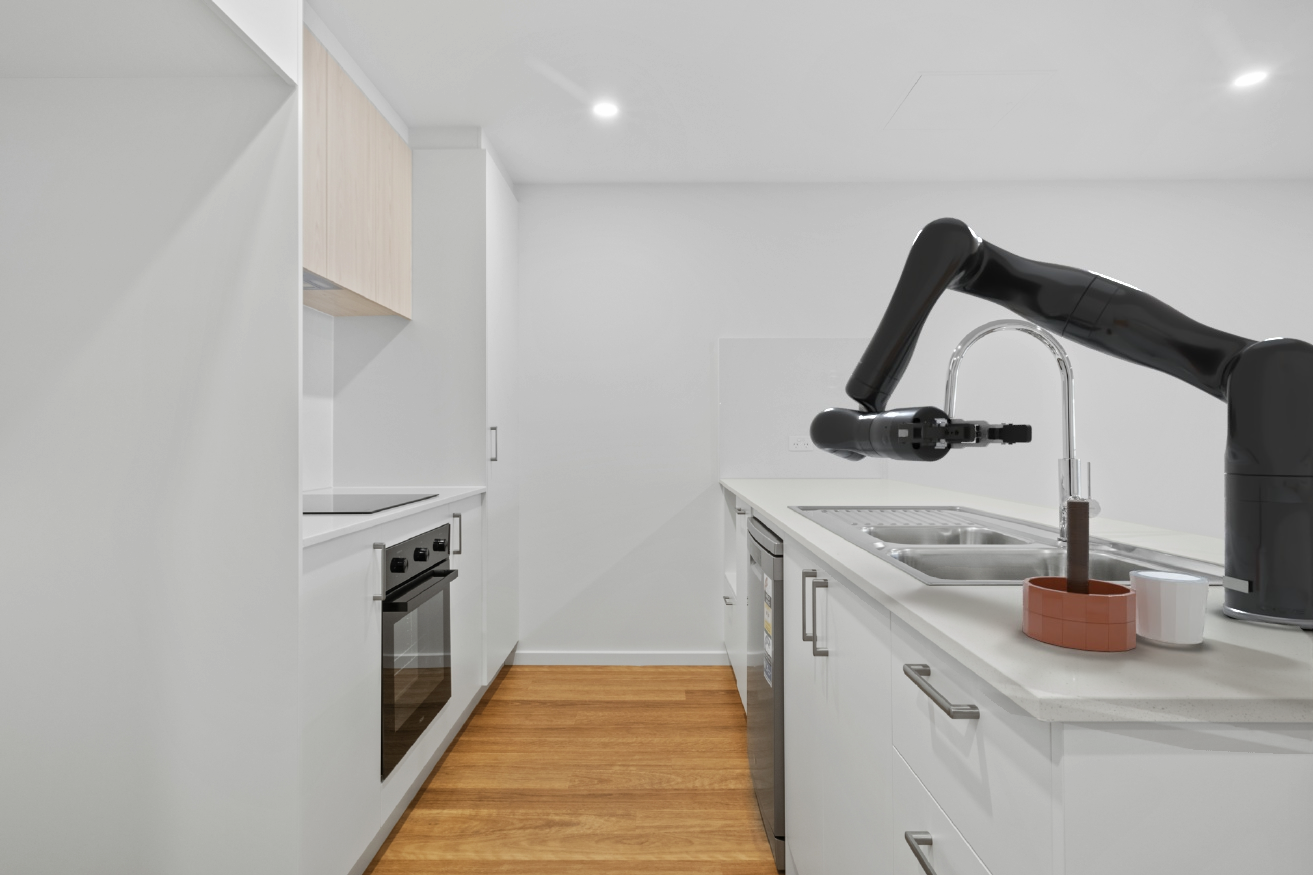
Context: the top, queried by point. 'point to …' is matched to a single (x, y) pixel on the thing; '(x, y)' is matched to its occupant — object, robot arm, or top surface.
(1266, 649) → the top surface
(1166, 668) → the top surface
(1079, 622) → the bowl
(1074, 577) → the brown wooden pestle
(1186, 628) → the white cylinder
